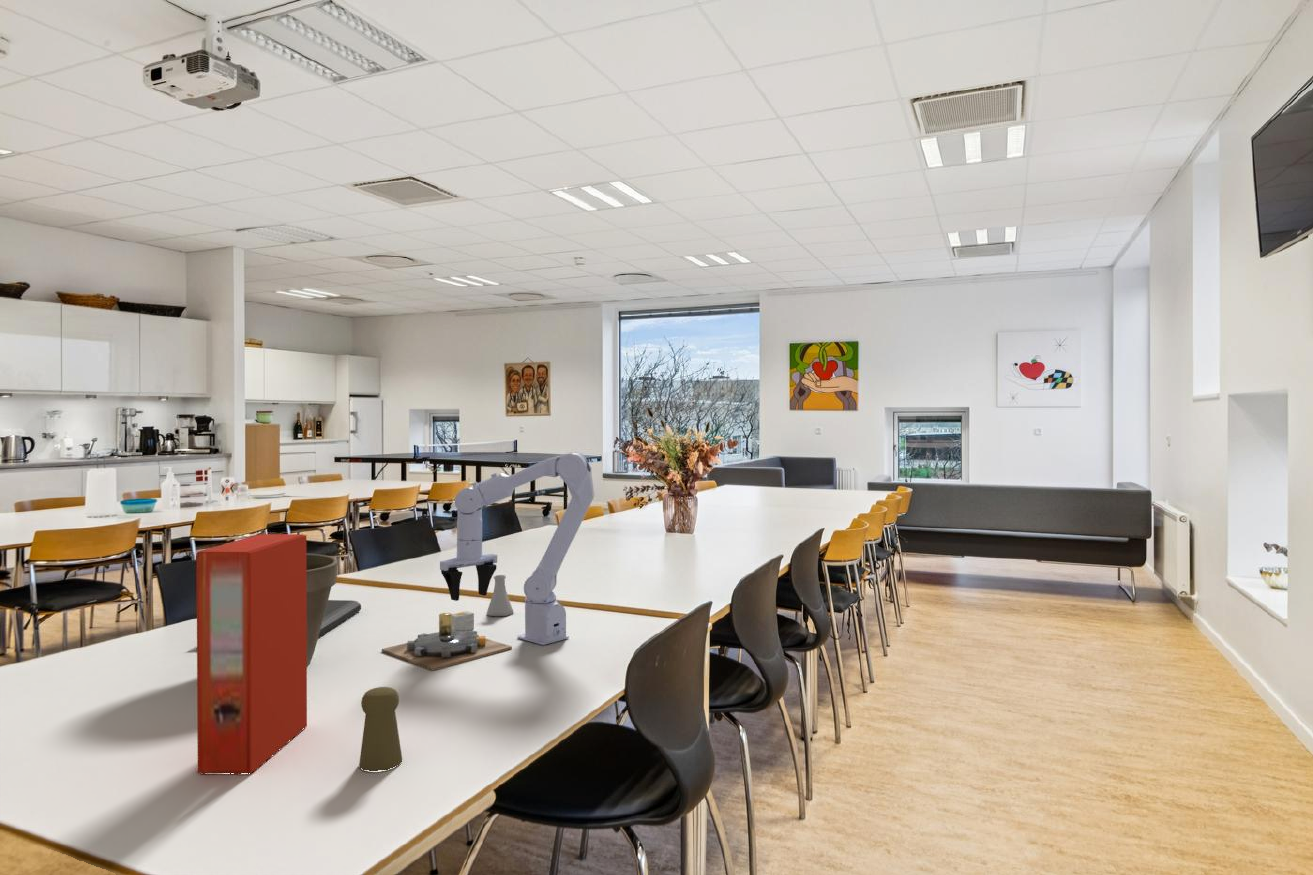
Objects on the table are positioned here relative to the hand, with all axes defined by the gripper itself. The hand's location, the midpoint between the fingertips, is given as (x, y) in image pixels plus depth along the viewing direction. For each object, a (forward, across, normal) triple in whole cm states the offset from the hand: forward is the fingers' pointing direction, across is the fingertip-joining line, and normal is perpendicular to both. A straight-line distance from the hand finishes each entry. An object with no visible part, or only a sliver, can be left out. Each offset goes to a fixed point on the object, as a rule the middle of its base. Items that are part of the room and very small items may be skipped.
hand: (468, 597), depth 182 cm
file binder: (+10, +58, +28) cm, 65 cm away
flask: (+10, -19, -13) cm, 25 cm away
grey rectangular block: (+10, -3, -7) cm, 12 cm away
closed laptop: (+11, +24, -41) cm, 49 cm away
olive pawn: (+10, +48, +47) cm, 68 cm away
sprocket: (+10, +9, +5) cm, 14 cm away
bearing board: (+10, +9, +5) cm, 14 cm away
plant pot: (+10, +39, -12) cm, 42 cm away
